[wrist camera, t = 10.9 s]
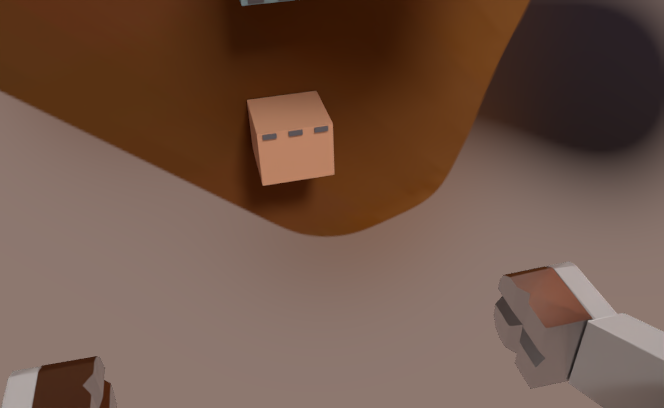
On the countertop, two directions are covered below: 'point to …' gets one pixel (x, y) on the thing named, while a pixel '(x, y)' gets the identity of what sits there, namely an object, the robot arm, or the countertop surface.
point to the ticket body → (259, 2)
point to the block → (291, 137)
